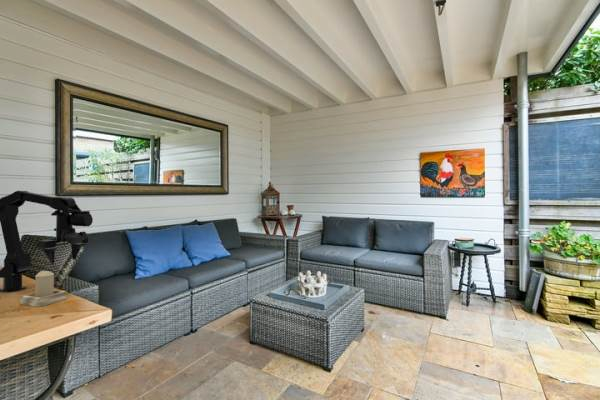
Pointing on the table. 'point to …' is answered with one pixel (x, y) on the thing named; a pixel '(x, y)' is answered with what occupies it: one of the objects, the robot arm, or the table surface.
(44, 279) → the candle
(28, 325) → the table surface
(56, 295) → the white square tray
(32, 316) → the table surface
